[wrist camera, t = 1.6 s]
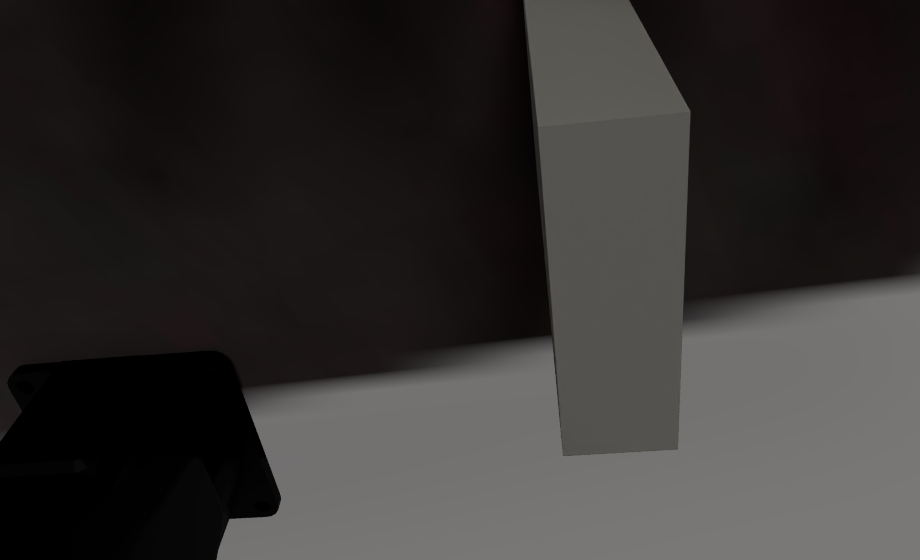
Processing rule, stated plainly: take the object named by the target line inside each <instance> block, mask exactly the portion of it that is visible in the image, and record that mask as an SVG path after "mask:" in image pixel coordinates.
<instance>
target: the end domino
mask: <svg viewBox="0 0 920 560" xmlns="http://www.w3.org/2000/svg"><path fill="white" fill-rule="evenodd" d="M523 6H524V19H525V31H526V44H527V56H528V69H529V81H530V94H531V106H532V119H533V131H534V144H535V156H536V169H537V180H538V191H539V202H540V213H541V223H542V234H543V245H544V256H545V266H546V277H547V288H548V299H549V309H550V320H551V331H552V342H553V352H554V363H555V374H556V384H557V395H558V405H559V417H560V427H561V438H562V449H563V456H571V455H572V456H573V455H588V454H589V455H590V454H606V453H624V452H640V451H657V450H675V449H678V431H679V430H678V429H679V403H680V402H679V401H680V377H681V348H682V323H683V296H684V269H685V242H686V215H687V188H688V161H689V134H690V110H689V108H688V106H687V105H686V103H685V101H684V99H683V97H682V95H681V94H680V92H679V90H678V88H677V86H676V85H675V83H674V81H673V79H672V77H671V76H670V74H669V72H668V70H667V68H666V66H665V65H664V63H663V61H662V59H661V57H660V56H659V54H658V52H657V50H656V48H655V47H654V45H653V43H652V41H651V39H650V37H649V36H648V34H647V32H646V30H645V28H644V27H643V25H642V23H641V21H640V19H639V18H638V16H637V14H636V12H635V10H634V8H633V7H632V5H631V3H630V1H629V0H523Z"/></svg>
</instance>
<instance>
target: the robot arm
mask: <svg viewBox="0 0 920 560" xmlns="http://www.w3.org/2000/svg"><path fill="white" fill-rule="evenodd" d="M207 367H213V368H215V369H216V370H217V371H212V370H210V369H208V368H207ZM28 382H29V383H28ZM30 383H31V384H30ZM7 384H8V387H9V389H10V391H11V393H12V394H13V396H14V398H15V399H16V401H17V403H18V404H19V406H20V408H21V410H22V413H21V414H20V415H19V417H18V418H17V420H16V421H15V422H14V424H13V425H12V426H11V428H10V429H9V430H8V432H7V433H6V435H5V436H4V437H3V439H2V440H1V441H0V560H216V559H217V553H218V549H219V546H220V543H221V540H222V538H223V535H224V532H225V529H226V526H227V524H228V521H229V519H235V518H254V517H267V516H272V515H274V514H276V512H277V511H278V508H279V505H280V501H281V496H280V493H279V490H278V487H277V485H276V482H275V479H274V476H273V474H272V471H271V468H270V466H269V463H268V460H267V458H266V455H265V452H264V450H263V447H262V444H261V441H260V439H259V436H258V433H257V431H256V428H255V425H254V423H253V420H252V417H251V415H250V412H249V409H248V406H247V404H246V401H245V398H244V396H243V393H242V390H241V388H240V385H239V382H238V380H237V377H236V374H235V371H234V369H233V366H232V363H231V362H230V360H229V359H228V357H226V356H225V355H224V354H222V353H219V352H217V351H198V352H185V353H172V354H158V355H145V356H139V355H138V356H125V357H112V358H99V359H86V360H73V361H62V362H54V363H41V364H28V365H22V366H19V367H18V368H17V369H16V370H15V371H14V372H13V374H12V375H11V376H10V377H9V379H8V383H7ZM264 501H265V502H264Z"/></svg>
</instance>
